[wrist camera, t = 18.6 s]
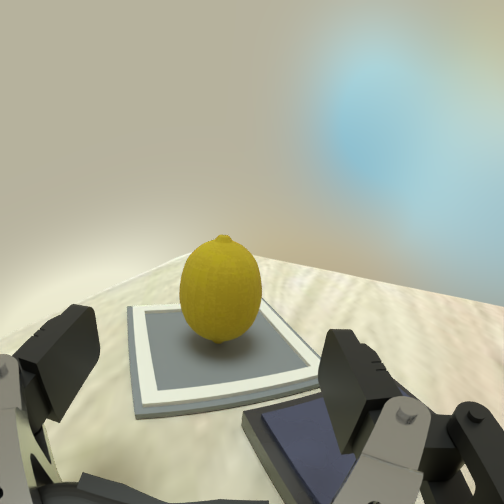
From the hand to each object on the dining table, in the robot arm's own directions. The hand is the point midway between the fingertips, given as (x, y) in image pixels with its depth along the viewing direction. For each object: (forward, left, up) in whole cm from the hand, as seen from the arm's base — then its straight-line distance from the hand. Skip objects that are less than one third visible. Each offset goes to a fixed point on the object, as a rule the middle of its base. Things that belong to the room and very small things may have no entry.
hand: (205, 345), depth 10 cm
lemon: (-4, -10, -7) cm, 13 cm away
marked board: (-4, -10, -7) cm, 13 cm away
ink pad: (-8, +2, -7) cm, 11 cm away
